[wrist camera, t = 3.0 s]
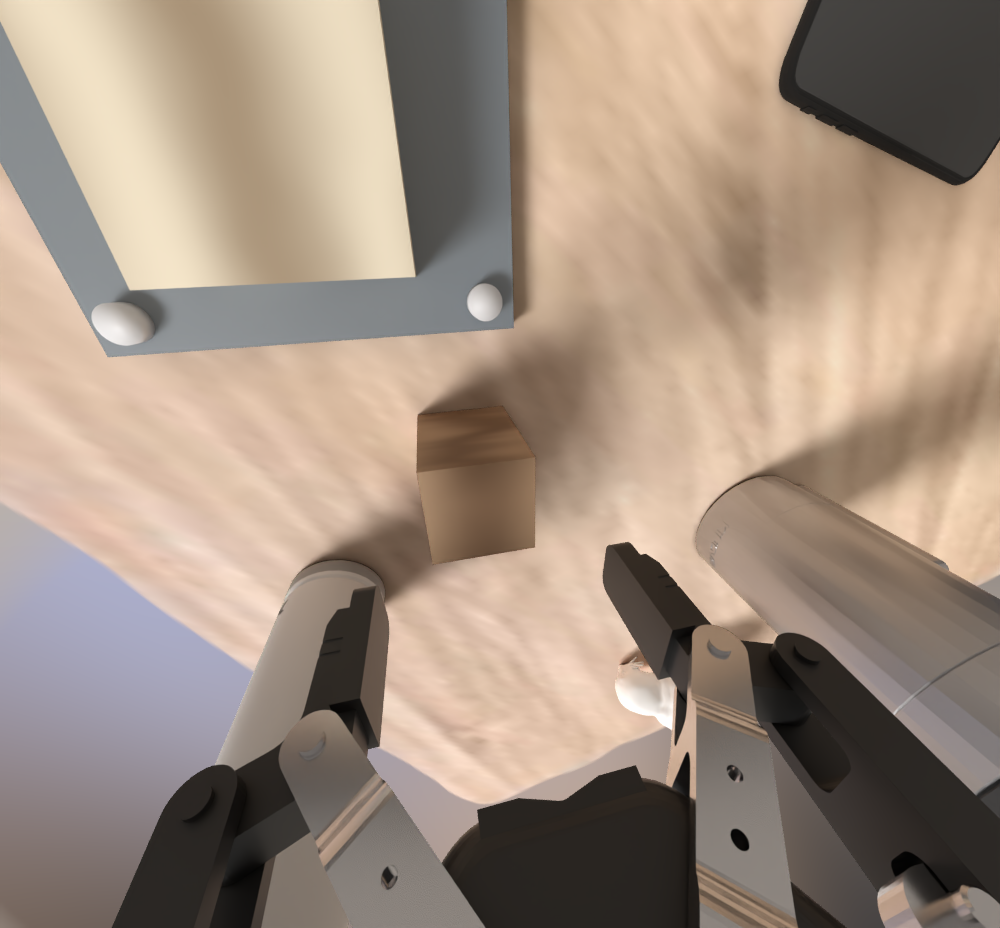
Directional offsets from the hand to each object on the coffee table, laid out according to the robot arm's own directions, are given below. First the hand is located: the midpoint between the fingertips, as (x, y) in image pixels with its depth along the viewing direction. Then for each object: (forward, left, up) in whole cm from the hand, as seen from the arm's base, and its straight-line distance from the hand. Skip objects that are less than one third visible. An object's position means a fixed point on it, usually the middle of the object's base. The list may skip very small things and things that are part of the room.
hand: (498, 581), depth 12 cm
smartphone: (-24, -18, -12) cm, 32 cm away
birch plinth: (+6, -14, -10) cm, 18 cm away
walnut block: (0, 0, -11) cm, 11 cm away
